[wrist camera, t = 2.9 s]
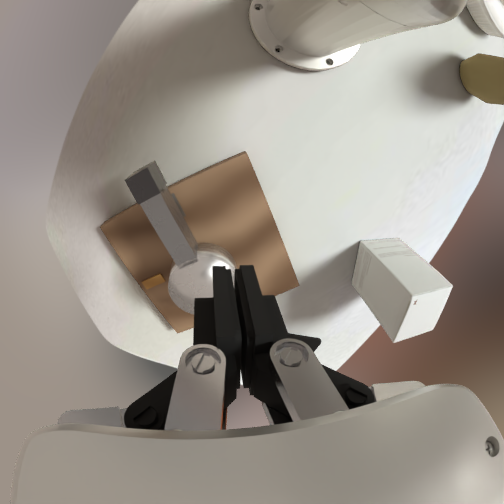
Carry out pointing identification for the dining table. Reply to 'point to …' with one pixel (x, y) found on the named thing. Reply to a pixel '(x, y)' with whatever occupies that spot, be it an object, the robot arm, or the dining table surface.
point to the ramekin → (488, 16)
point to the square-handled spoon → (178, 240)
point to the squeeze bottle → (484, 77)
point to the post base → (206, 233)
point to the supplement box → (399, 287)
